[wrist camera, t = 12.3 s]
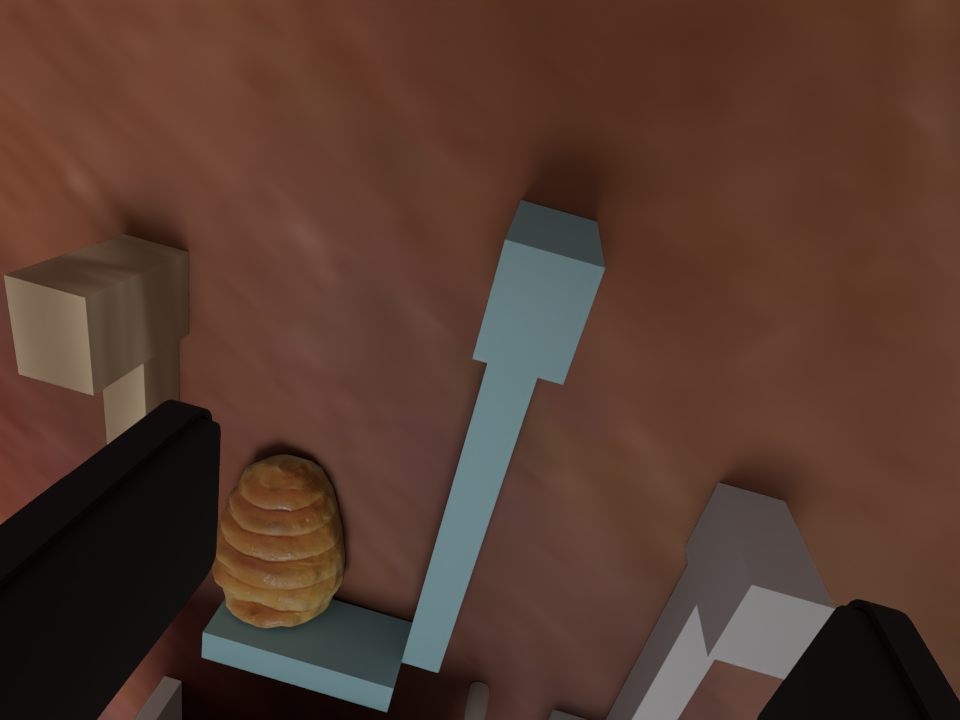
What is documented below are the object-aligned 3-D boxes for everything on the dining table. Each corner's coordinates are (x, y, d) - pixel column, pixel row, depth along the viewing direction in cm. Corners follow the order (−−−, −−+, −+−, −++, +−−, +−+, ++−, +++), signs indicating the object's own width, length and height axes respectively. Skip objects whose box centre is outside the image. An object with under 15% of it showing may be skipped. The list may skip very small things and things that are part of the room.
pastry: (233, 430, 30) (189, 475, 27) (362, 462, 30) (333, 512, 26) (233, 565, 34) (195, 619, 31) (347, 594, 34) (320, 652, 30)
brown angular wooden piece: (189, 252, 26) (84, 297, 20) (189, 525, 33) (112, 612, 28) (124, 233, 26) (4, 275, 21) (138, 510, 33) (52, 594, 28)
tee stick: (840, 516, 26) (905, 629, 21) (674, 769, 35) (690, 893, 30) (663, 466, 27) (682, 565, 21) (543, 729, 36) (536, 844, 30)
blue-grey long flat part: (597, 221, 22) (605, 267, 17) (447, 658, 34) (425, 766, 29) (280, 131, 23) (190, 150, 17) (239, 596, 34) (178, 693, 29)
